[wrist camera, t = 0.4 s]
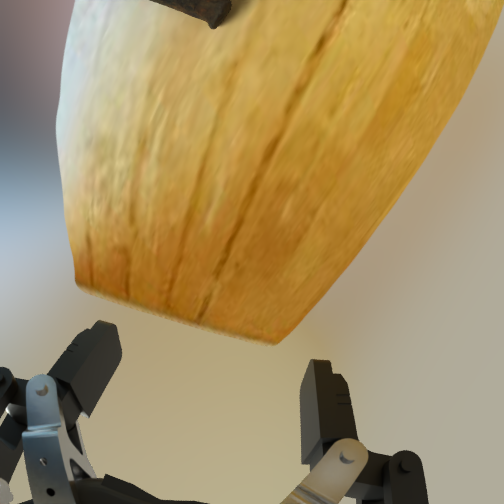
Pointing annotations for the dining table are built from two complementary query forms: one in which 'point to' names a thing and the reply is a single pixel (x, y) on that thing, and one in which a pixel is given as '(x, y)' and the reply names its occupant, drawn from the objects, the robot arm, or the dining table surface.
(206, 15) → the hand tool
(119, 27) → the dining table surface
